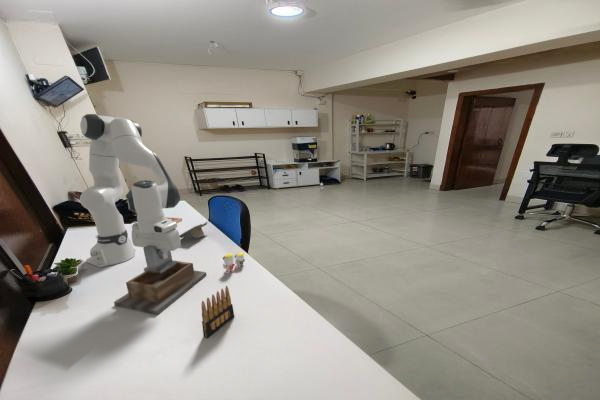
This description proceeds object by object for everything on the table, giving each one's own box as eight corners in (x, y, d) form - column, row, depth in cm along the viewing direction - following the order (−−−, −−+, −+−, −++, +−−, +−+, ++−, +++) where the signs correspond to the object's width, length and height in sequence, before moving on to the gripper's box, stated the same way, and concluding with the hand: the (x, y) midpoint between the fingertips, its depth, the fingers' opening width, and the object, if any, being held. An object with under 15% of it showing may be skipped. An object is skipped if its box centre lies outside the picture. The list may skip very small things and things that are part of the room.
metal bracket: (144, 271, 97) (138, 247, 94) (161, 261, 104) (156, 238, 101) (160, 273, 94) (155, 249, 92) (176, 263, 102) (172, 240, 99)
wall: (181, 252, 144) (200, 234, 141) (170, 239, 144) (189, 220, 141) (199, 244, 162) (217, 227, 159) (190, 232, 163) (207, 215, 159)
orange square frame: (146, 226, 177) (145, 224, 176) (164, 219, 192) (164, 216, 191) (164, 228, 172) (164, 225, 171) (182, 220, 187) (181, 218, 186)
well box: (114, 305, 92) (110, 287, 90) (169, 269, 116) (167, 254, 114) (157, 314, 86) (153, 295, 84) (206, 275, 110) (204, 259, 108)
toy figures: (241, 262, 121) (239, 246, 119) (247, 264, 118) (245, 248, 116) (220, 273, 111) (217, 256, 109) (226, 276, 109) (224, 258, 107)
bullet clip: (230, 315, 85) (226, 283, 82) (234, 317, 84) (230, 284, 81) (203, 336, 76) (197, 301, 73) (207, 338, 75) (201, 303, 72)
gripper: (123, 225, 95) (131, 258, 98) (167, 229, 89) (173, 264, 92) (138, 219, 101) (145, 251, 104) (180, 223, 94) (186, 256, 98)
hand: (159, 257), depth 98 cm, fingers closed on metal bracket, 4 cm apart
